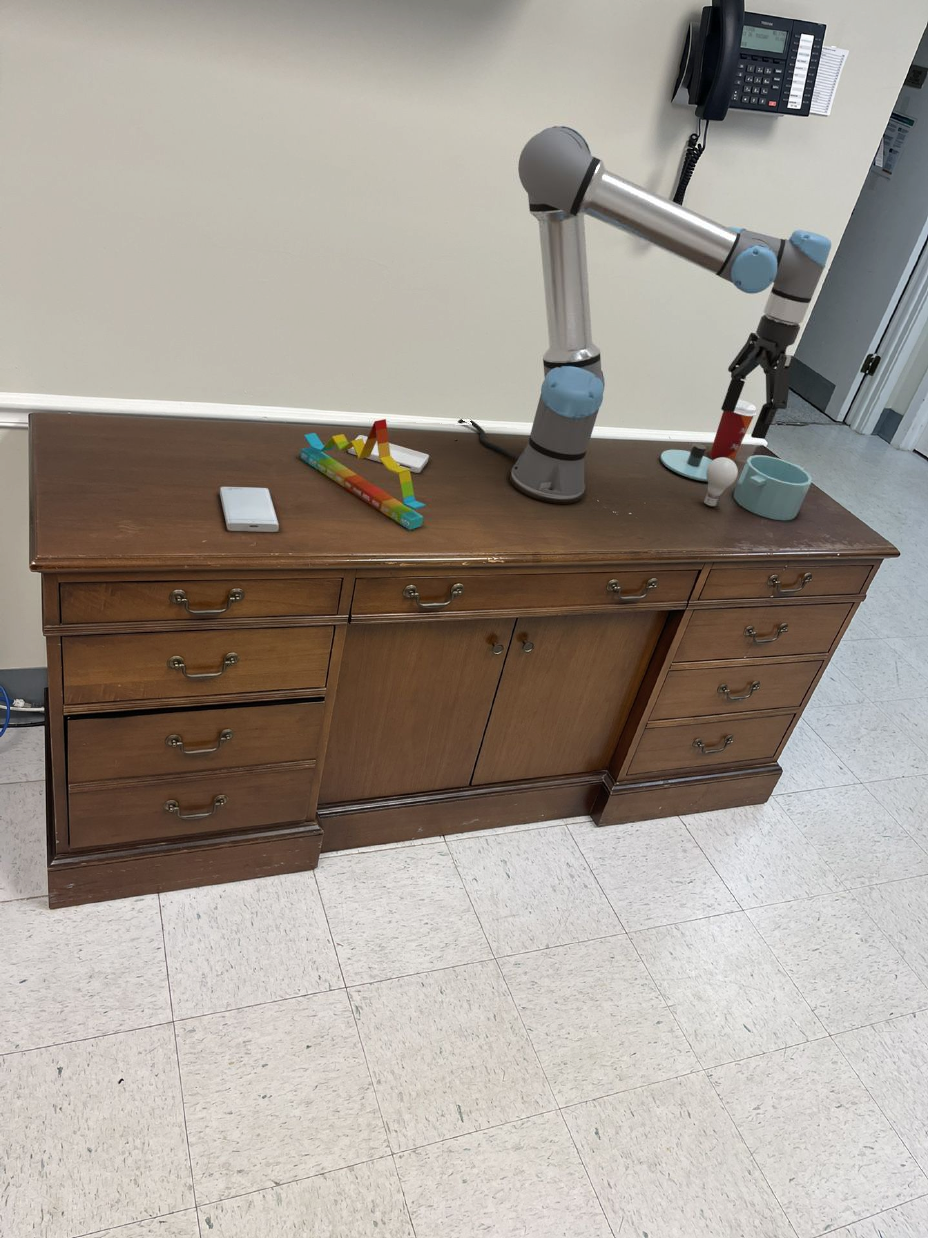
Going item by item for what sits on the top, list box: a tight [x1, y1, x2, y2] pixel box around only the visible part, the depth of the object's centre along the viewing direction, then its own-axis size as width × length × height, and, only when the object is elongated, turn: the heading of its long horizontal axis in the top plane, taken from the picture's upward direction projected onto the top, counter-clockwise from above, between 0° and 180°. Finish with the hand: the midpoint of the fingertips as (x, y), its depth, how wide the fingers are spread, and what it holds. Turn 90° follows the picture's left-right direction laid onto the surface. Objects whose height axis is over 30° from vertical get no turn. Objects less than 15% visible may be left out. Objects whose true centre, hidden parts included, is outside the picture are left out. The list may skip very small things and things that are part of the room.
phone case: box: [347, 434, 430, 474], centre depth 183 cm, size 7×1×15 cm
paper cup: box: [709, 398, 757, 462], centre depth 217 cm, size 8×8×14 cm
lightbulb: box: [703, 457, 739, 507], centre depth 193 cm, size 6×6×11 cm
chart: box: [299, 418, 427, 531], centre depth 164 cm, size 30×3×15 cm, turn 47°
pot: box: [732, 454, 813, 521], centre depth 200 cm, size 14×20×8 cm
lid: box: [659, 442, 713, 482], centre depth 210 cm, size 15×15×6 cm
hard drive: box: [219, 486, 280, 533], centre depth 153 cm, size 2×8×12 cm
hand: (742, 423), depth 185 cm, fingers open, 13 cm apart
